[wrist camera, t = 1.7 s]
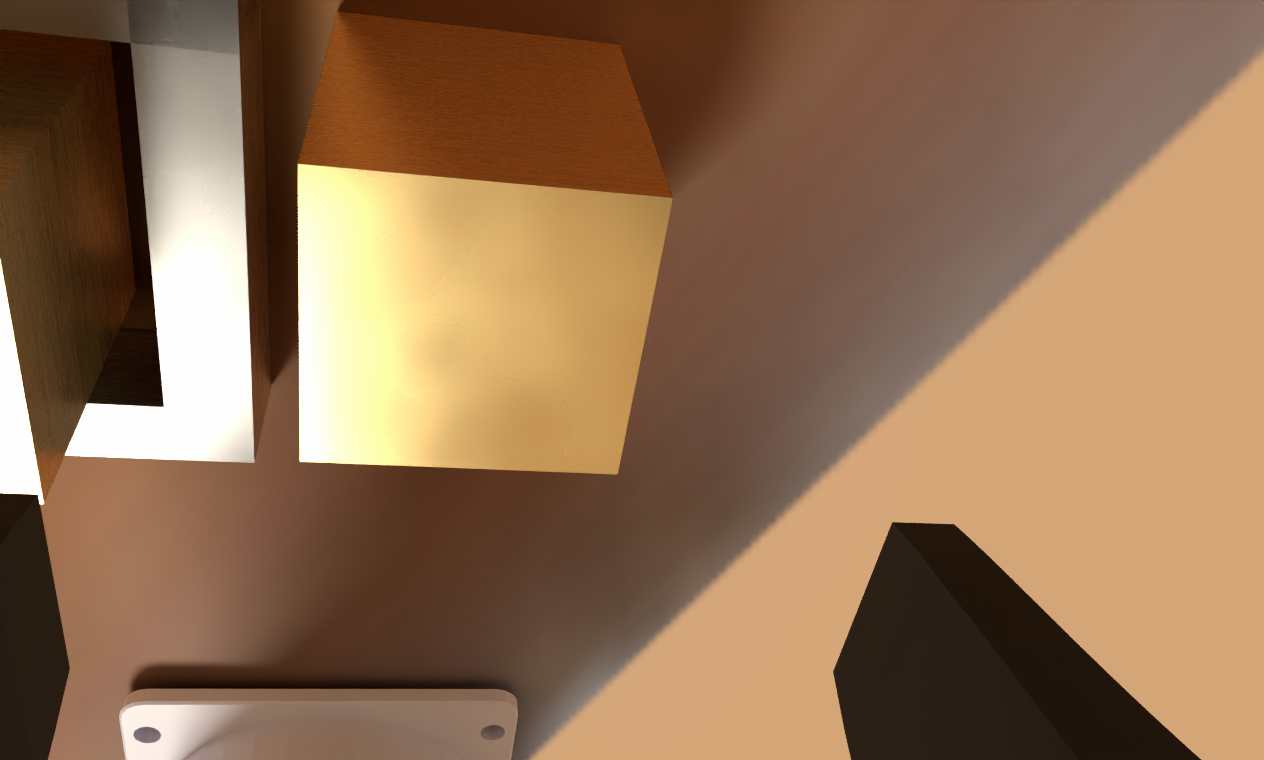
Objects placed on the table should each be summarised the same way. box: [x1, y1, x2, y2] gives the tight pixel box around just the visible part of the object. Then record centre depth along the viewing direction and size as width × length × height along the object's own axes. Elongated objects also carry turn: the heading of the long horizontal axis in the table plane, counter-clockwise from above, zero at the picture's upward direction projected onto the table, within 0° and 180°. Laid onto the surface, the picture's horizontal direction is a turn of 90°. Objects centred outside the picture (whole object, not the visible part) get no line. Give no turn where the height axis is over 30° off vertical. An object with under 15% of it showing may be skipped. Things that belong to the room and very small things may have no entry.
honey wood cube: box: [298, 11, 673, 474], centre depth 15 cm, size 4×4×5 cm
